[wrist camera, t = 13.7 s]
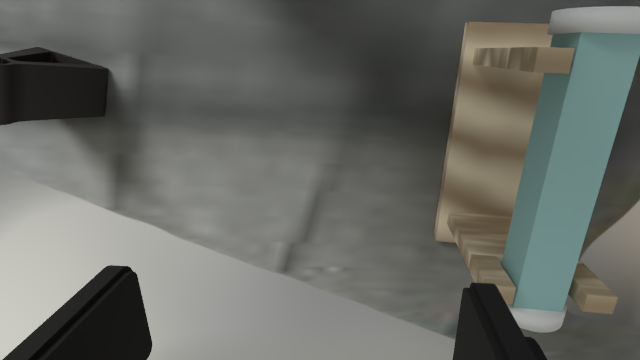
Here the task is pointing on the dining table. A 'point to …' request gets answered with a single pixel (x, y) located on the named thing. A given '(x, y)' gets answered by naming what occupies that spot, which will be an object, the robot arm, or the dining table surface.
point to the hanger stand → (499, 150)
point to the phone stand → (49, 86)
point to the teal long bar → (568, 158)
